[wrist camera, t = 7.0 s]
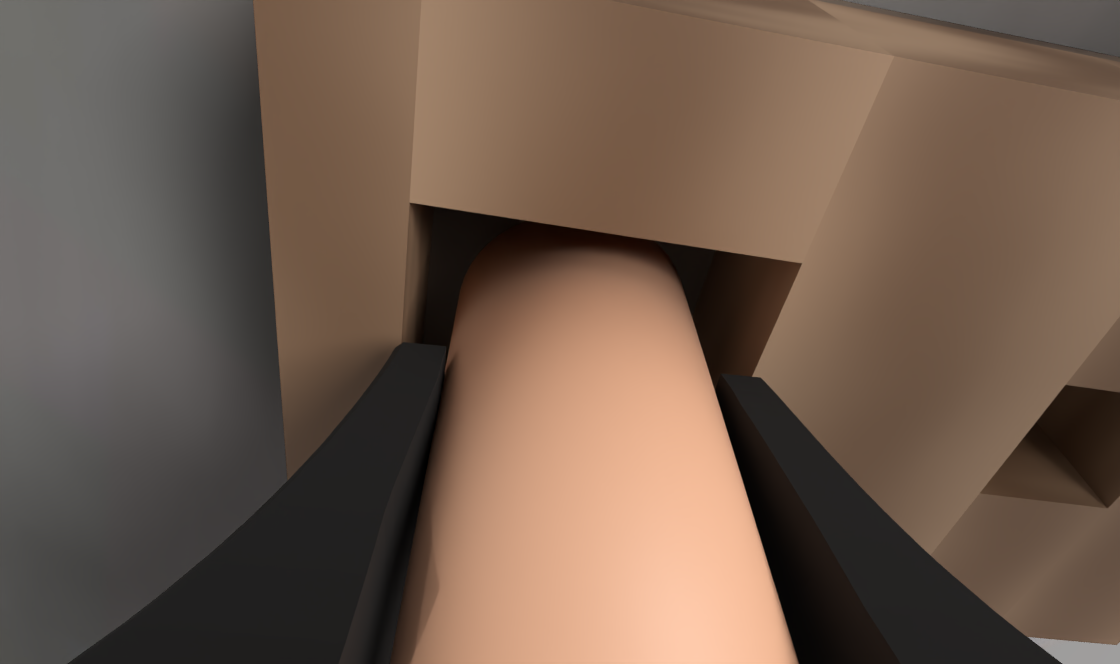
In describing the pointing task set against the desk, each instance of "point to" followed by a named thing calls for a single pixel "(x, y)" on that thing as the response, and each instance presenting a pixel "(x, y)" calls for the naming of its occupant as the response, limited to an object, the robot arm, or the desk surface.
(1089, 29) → the desk surface
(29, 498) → the desk surface
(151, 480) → the desk surface
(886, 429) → the socket block
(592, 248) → the pin
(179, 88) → the desk surface
